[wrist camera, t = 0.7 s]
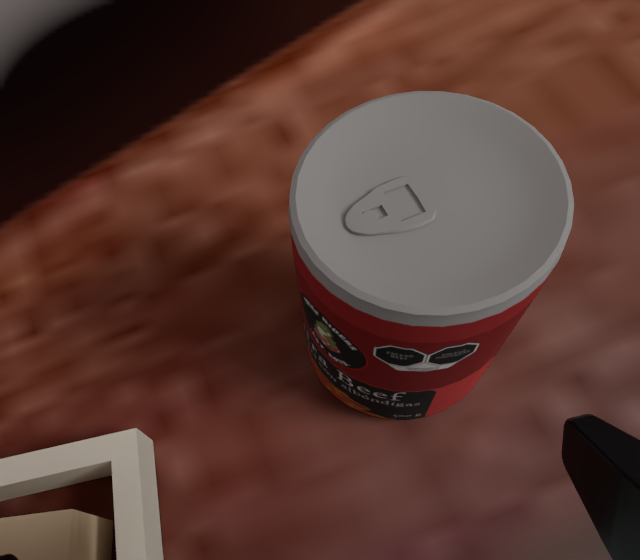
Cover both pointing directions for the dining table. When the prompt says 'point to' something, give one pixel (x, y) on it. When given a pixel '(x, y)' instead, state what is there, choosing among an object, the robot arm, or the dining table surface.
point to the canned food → (421, 245)
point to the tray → (92, 463)
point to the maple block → (57, 536)
